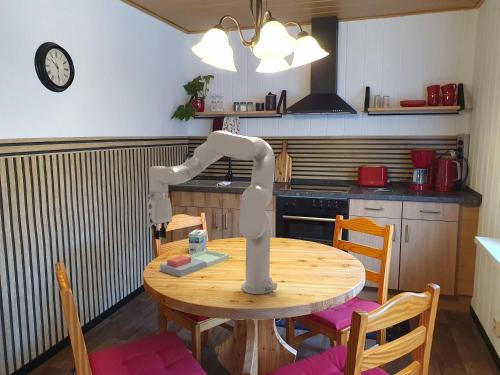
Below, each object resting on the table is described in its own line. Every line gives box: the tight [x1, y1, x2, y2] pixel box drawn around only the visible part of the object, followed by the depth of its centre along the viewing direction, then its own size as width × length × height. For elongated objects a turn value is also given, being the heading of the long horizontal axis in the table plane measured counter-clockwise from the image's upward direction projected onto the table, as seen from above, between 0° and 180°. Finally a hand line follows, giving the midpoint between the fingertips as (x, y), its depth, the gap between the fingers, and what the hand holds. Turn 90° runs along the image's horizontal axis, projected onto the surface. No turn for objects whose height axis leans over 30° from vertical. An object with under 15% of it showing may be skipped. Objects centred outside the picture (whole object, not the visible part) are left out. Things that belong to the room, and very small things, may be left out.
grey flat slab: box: [159, 258, 207, 278], centre depth 177 cm, size 13×16×3 cm
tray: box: [186, 249, 230, 268], centre depth 191 cm, size 15×16×2 cm
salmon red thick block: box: [166, 254, 191, 268], centre depth 176 cm, size 6×9×2 cm, turn 144°
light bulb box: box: [188, 228, 208, 255], centre depth 205 cm, size 11×7×11 cm, turn 168°
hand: (159, 237), depth 165 cm, fingers open, 2 cm apart
